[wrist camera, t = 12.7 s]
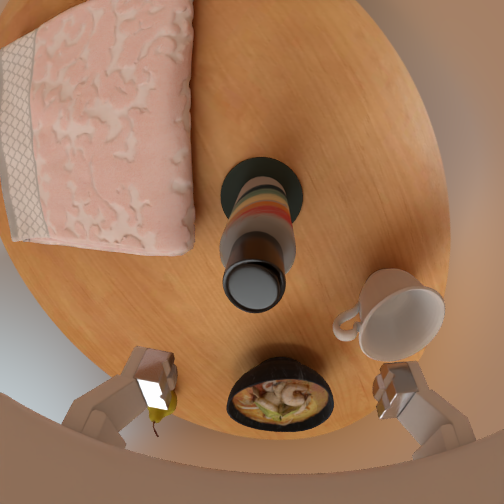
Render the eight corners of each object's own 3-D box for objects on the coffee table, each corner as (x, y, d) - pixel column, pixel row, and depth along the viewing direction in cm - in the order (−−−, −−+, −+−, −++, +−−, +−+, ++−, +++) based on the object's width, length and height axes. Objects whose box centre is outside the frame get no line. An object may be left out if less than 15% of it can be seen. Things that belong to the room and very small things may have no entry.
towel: (14, 46, 24) (-8, 45, 19) (202, -19, 22) (191, -38, 17) (27, 237, 40) (7, 251, 34) (201, 242, 38) (191, 262, 33)
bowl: (297, 405, 53) (299, 445, 44) (219, 382, 51) (211, 425, 42) (346, 355, 46) (356, 400, 37) (256, 324, 44) (252, 373, 35)
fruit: (145, 386, 54) (127, 430, 43) (156, 372, 51) (137, 420, 40) (172, 400, 55) (159, 444, 44) (185, 388, 53) (172, 436, 42)
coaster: (221, 155, 33) (220, 156, 33) (305, 159, 32) (306, 160, 32) (221, 232, 37) (220, 234, 37) (298, 237, 37) (298, 238, 36)
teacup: (322, 256, 38) (336, 300, 29) (420, 243, 36) (454, 279, 27) (325, 325, 43) (334, 373, 34) (411, 310, 41) (434, 352, 32)
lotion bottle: (286, 219, 35) (301, 327, 18) (241, 221, 36) (212, 328, 18) (285, 174, 33) (303, 244, 15) (237, 176, 34) (198, 247, 16)
